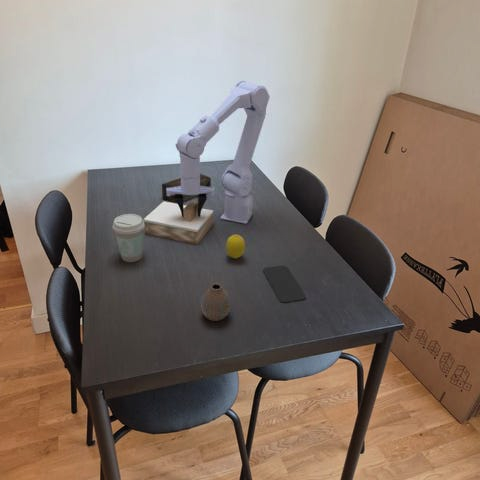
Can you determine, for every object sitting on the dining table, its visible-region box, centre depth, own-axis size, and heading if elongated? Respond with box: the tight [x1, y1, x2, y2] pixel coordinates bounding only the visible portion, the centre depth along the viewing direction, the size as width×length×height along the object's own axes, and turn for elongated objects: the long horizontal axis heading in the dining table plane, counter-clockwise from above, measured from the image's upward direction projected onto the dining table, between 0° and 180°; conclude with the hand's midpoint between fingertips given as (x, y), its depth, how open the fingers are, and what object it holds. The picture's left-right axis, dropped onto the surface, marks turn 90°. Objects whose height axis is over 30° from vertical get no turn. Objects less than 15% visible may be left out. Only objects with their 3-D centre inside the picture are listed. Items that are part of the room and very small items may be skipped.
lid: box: [142, 200, 214, 232], centre depth 124 cm, size 18×14×5 cm
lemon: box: [225, 233, 246, 259], centre depth 112 cm, size 6×6×8 cm
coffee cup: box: [112, 213, 145, 263], centre depth 109 cm, size 8×9×12 cm
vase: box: [200, 283, 231, 322], centre depth 91 cm, size 7×7×9 cm
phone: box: [262, 265, 307, 304], centre depth 105 cm, size 7×1×15 cm
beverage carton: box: [161, 172, 212, 204], centre depth 148 cm, size 8×19×7 cm, turn 140°
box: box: [143, 213, 214, 245], centre depth 126 cm, size 18×14×4 cm
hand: (190, 215), depth 124 cm, fingers closed on lid, 4 cm apart
